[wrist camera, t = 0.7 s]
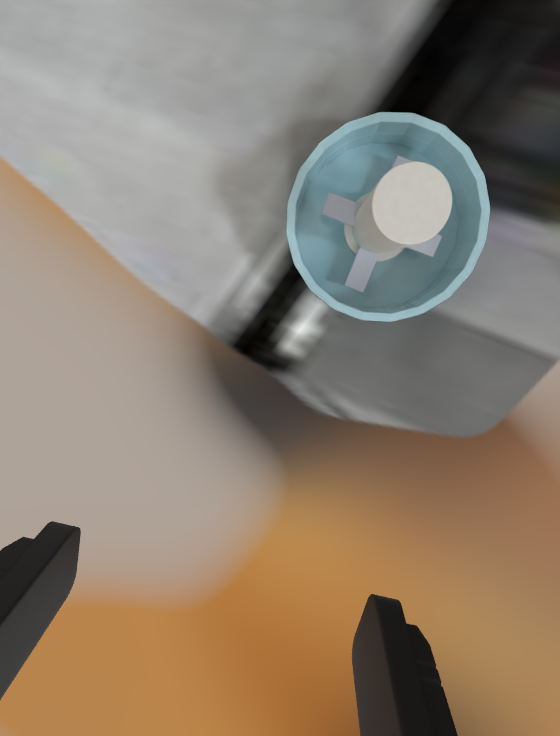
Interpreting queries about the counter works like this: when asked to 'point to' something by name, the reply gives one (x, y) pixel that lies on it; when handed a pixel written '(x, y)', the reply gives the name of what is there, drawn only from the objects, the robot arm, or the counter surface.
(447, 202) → the blade
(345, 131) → the processor bowl
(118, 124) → the counter surface
